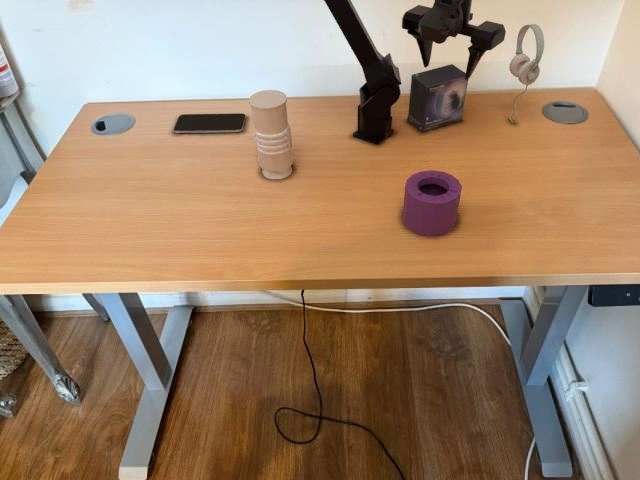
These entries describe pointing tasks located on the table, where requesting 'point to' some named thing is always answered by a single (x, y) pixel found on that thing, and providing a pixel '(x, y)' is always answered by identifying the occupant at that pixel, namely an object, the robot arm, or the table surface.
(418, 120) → the small box
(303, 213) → the table surface
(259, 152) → the beige ribbed cylinder
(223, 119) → the smartphone
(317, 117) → the table surface
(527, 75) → the headphones
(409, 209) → the jar
